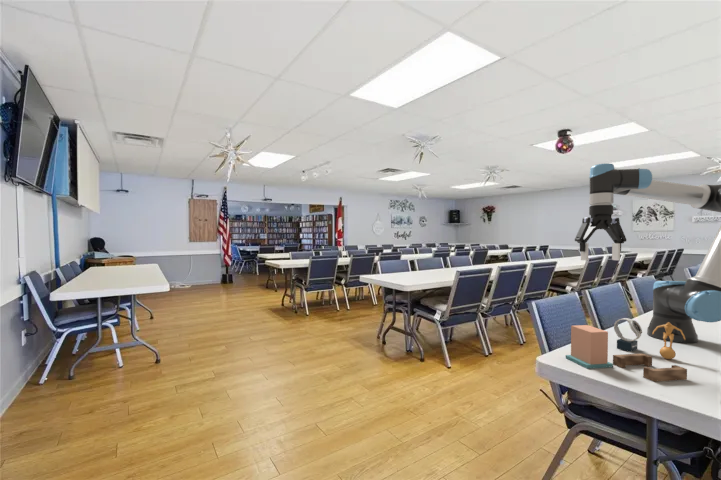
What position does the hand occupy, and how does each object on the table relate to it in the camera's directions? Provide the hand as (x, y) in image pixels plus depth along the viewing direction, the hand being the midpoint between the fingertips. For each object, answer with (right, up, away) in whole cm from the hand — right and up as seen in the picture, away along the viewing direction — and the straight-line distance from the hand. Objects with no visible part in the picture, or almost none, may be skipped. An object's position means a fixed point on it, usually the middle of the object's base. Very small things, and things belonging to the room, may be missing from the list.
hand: (600, 260), depth 130 cm
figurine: (+11, -32, -16) cm, 38 cm away
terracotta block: (-18, -31, -20) cm, 41 cm away
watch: (+5, -32, -7) cm, 33 cm away
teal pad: (-18, -32, -20) cm, 42 cm away
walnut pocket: (-5, -32, -28) cm, 43 cm away
